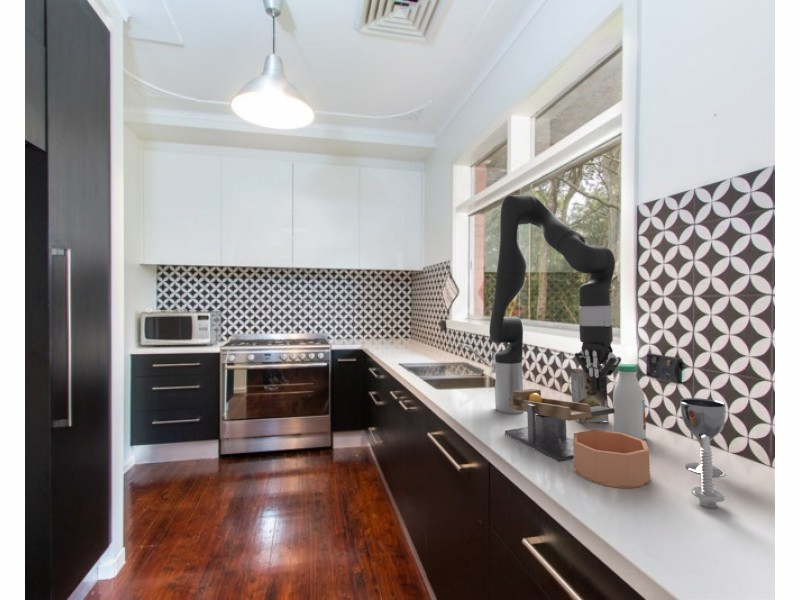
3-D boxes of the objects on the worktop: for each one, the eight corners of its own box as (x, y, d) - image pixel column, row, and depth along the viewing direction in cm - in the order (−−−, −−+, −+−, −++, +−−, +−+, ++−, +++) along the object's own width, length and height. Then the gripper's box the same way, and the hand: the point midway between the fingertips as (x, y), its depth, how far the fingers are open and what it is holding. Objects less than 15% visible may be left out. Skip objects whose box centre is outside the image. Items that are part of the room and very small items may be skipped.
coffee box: (600, 417, 127) (598, 367, 127) (609, 423, 120) (607, 371, 120) (571, 417, 128) (569, 368, 128) (578, 423, 121) (576, 371, 121)
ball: (527, 406, 110) (524, 394, 111) (537, 405, 111) (535, 392, 112) (535, 406, 107) (532, 393, 107) (546, 405, 108) (543, 391, 109)
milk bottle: (640, 443, 103) (637, 368, 103) (609, 436, 109) (607, 365, 109) (650, 436, 108) (647, 364, 108) (620, 430, 114) (617, 361, 114)
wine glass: (717, 481, 81) (714, 409, 81) (675, 467, 88) (672, 401, 88) (735, 472, 84) (732, 403, 85) (694, 459, 91) (691, 396, 92)
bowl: (560, 465, 90) (559, 435, 90) (607, 456, 95) (606, 427, 95) (613, 493, 77) (611, 458, 77) (664, 480, 82) (663, 447, 82)
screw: (691, 506, 71) (692, 495, 75) (725, 515, 68) (724, 503, 72) (688, 435, 72) (689, 428, 75) (722, 441, 68) (722, 433, 72)
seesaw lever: (507, 408, 115) (505, 391, 115) (549, 402, 120) (547, 385, 120) (566, 421, 92) (563, 398, 93) (614, 413, 97) (611, 392, 98)
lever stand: (504, 434, 113) (503, 396, 113) (538, 428, 117) (537, 392, 117) (559, 462, 93) (557, 416, 93) (597, 454, 97) (596, 410, 97)
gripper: (564, 323, 104) (567, 388, 104) (605, 325, 92) (608, 398, 91) (586, 322, 107) (589, 385, 106) (629, 323, 94) (632, 395, 94)
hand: (598, 391), depth 99 cm, fingers closed
